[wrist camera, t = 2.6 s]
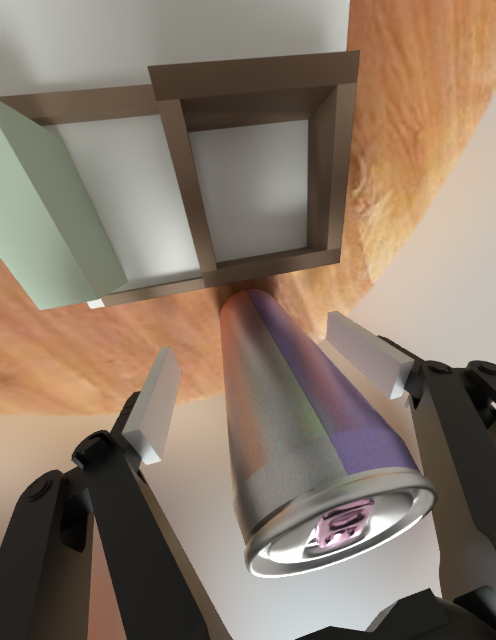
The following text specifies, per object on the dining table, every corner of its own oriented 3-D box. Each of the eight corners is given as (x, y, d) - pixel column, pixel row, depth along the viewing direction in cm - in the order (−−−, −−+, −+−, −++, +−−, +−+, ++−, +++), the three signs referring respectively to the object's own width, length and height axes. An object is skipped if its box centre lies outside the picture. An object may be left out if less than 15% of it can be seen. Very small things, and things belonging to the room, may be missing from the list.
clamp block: (2, 145, 9) (-123, 94, 6) (62, 139, 10) (-24, 86, 6) (86, 289, 13) (39, 310, 10) (128, 281, 13) (98, 299, 10)
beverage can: (275, 281, 17) (489, 452, 4) (278, 333, 20) (411, 538, 7) (213, 293, 17) (214, 540, 3) (226, 345, 19) (253, 593, 6)
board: (-113, -79, 7) (-231, -191, 5) (338, -80, 9) (371, -164, 7) (101, 301, 15) (84, 312, 13) (321, 261, 17) (335, 265, 15)
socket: (164, 110, 10) (147, 66, 7) (324, 94, 11) (359, 50, 8) (206, 277, 14) (205, 288, 12) (317, 257, 15) (339, 262, 13)
